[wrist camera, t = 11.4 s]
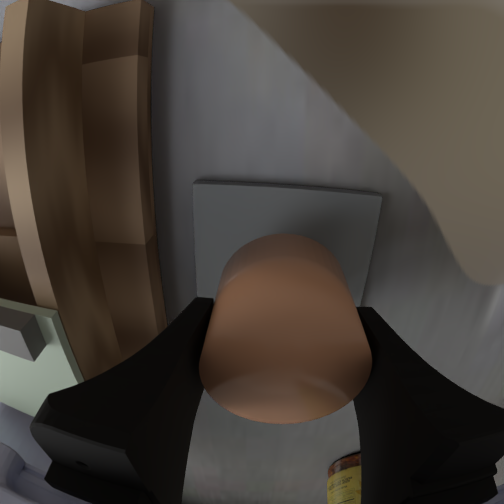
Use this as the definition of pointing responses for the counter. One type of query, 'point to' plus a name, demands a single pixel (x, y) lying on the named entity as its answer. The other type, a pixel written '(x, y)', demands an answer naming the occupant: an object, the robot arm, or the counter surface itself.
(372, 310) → the robot arm
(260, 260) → the tan rounded cylinder
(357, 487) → the sauce bottle
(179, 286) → the counter surface
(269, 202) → the coaster
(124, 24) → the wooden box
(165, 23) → the counter surface
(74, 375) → the cover
